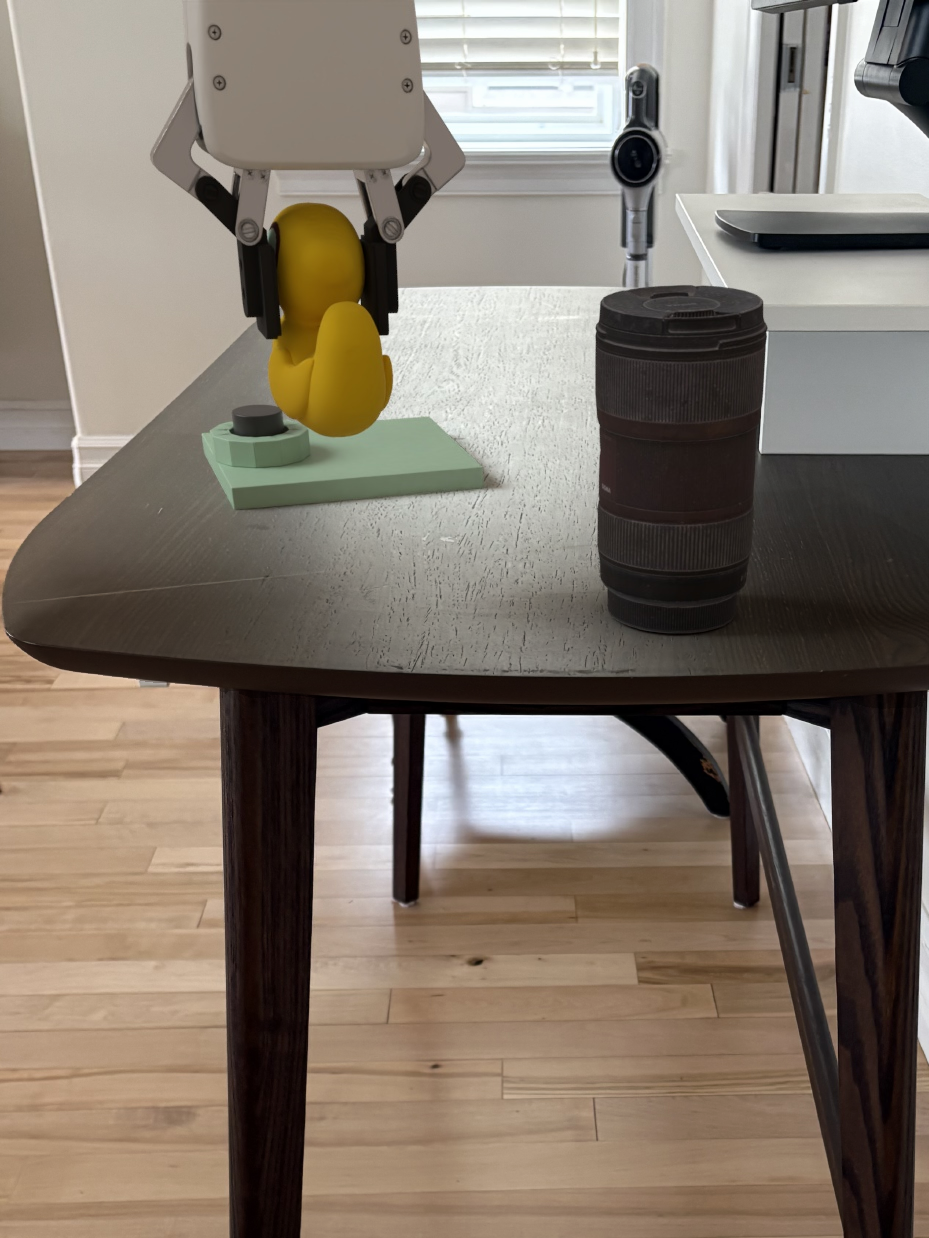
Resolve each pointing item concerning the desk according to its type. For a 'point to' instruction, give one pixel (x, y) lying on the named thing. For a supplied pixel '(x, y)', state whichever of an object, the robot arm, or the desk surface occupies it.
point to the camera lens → (677, 451)
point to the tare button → (258, 421)
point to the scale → (338, 463)
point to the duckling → (325, 325)
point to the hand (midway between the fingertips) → (322, 328)
